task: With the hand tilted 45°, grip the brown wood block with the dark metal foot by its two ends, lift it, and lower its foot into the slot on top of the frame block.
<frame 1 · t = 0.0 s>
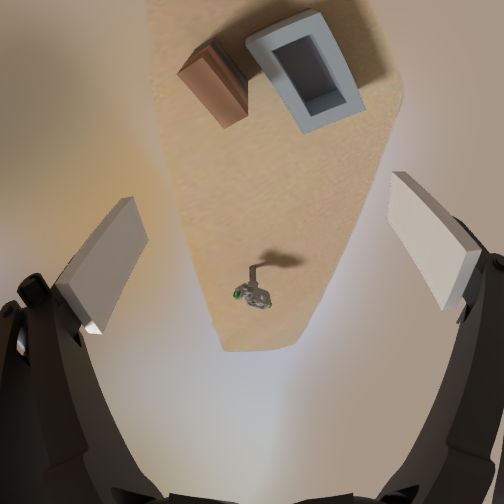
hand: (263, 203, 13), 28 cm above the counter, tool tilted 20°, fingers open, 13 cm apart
mechanical component: (252, 266, 71), on the counter
frame block: (303, 63, 30), on the counter
brown wood block: (221, 65, 30), on the counter
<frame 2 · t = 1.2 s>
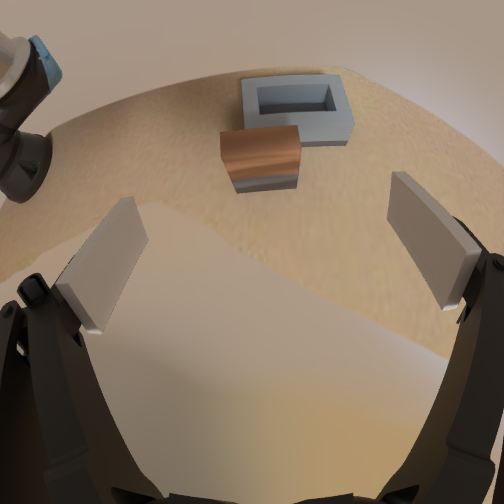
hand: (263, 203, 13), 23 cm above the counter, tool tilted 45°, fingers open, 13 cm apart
frame block: (294, 122, 38), on the counter
brown wood block: (265, 180, 37), on the counter
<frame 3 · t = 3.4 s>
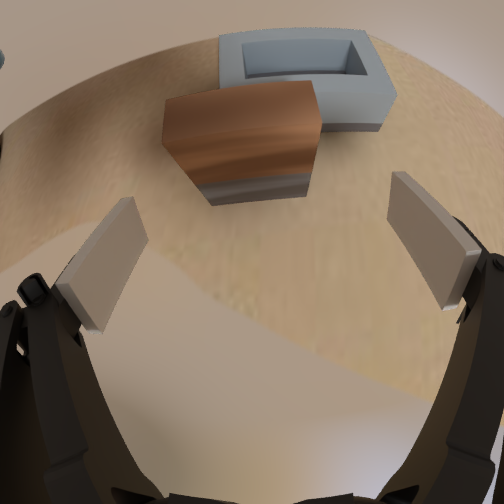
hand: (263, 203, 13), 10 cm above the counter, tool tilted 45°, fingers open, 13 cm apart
frame block: (300, 96, 24), on the counter
brown wood block: (257, 184, 24), on the counter
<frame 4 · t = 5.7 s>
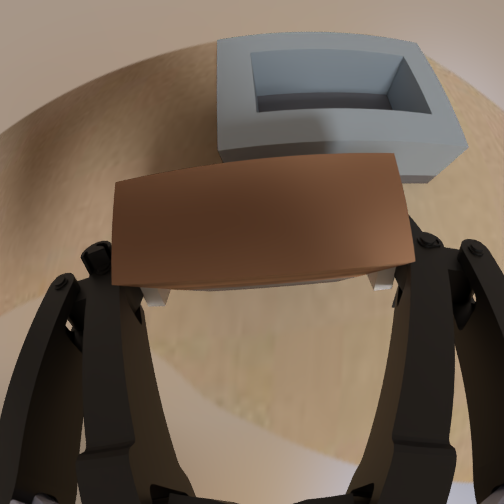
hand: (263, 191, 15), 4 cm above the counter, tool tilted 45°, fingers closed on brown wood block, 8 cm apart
frame block: (329, 129, 19), on the counter
brown wood block: (271, 263, 18), on the counter, touching gripper
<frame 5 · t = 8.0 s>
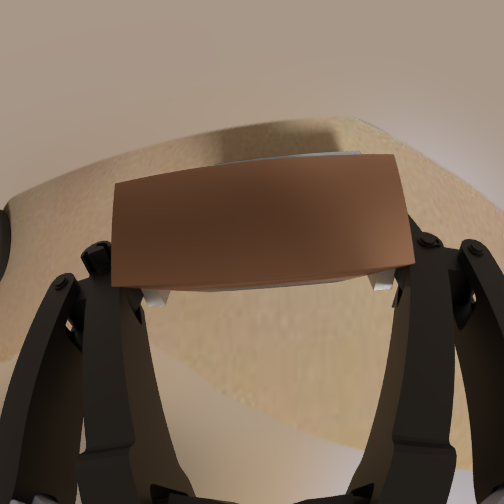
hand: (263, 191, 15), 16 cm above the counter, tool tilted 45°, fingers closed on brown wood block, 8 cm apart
frame block: (292, 218, 30), on the counter
brown wood block: (271, 263, 18), point 12 cm above the counter, touching gripper
when the fingers open (9 cm above the counter, at t = 10.5 s): brown wood block drops 3 cm, resting on frame block.
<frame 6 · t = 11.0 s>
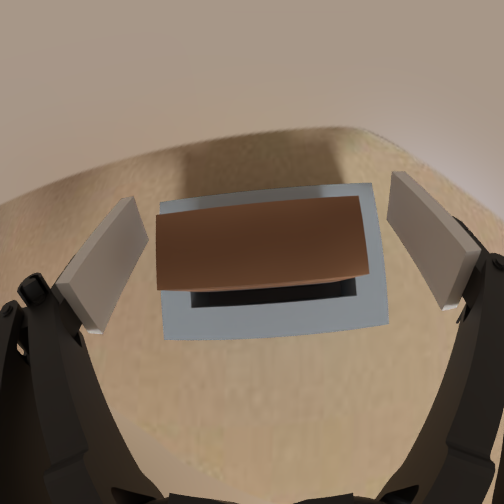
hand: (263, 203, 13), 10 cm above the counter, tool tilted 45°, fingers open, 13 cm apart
frame block: (273, 269, 22), on the counter
brown wood block: (270, 268, 21), point 1 cm above the counter, touching frame block
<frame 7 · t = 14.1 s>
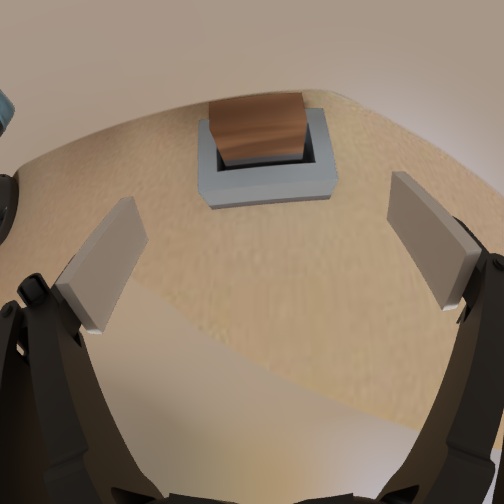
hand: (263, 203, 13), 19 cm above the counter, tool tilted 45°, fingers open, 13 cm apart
frame block: (267, 169, 33), on the counter
brown wood block: (265, 164, 32), point 1 cm above the counter, touching frame block
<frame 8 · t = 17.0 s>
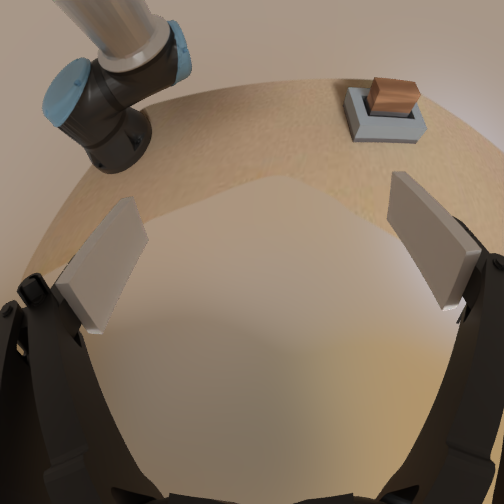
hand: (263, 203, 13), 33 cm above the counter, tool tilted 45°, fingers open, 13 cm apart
frame block: (380, 123, 47), on the counter
brown wood block: (381, 119, 46), point 1 cm above the counter, touching frame block
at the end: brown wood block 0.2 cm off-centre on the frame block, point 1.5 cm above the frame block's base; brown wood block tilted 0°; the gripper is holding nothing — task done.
